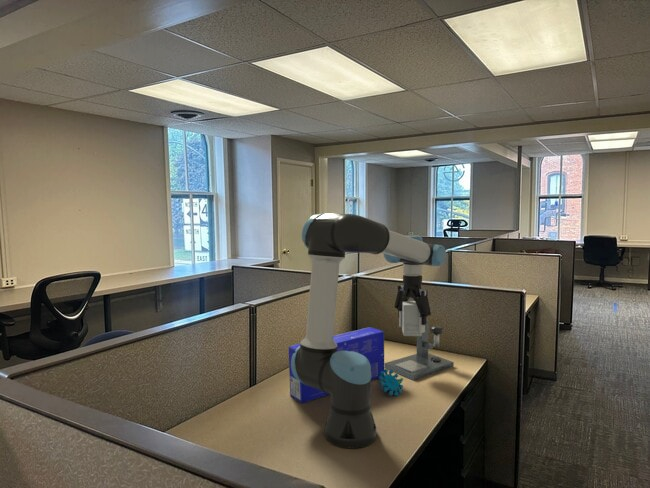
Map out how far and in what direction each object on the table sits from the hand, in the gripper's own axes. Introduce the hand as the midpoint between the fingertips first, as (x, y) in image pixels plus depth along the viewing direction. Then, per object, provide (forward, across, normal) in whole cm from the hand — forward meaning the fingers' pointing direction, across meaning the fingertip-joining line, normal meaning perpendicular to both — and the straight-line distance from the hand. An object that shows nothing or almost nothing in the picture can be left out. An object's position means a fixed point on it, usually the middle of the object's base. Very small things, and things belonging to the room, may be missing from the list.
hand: (411, 329), depth 171 cm
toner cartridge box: (+18, +6, +32) cm, 37 cm away
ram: (+9, -1, -14) cm, 17 cm away
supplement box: (+2, 0, 0) cm, 2 cm away
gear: (+18, -9, +20) cm, 28 cm away
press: (+17, +1, -6) cm, 18 cm away
